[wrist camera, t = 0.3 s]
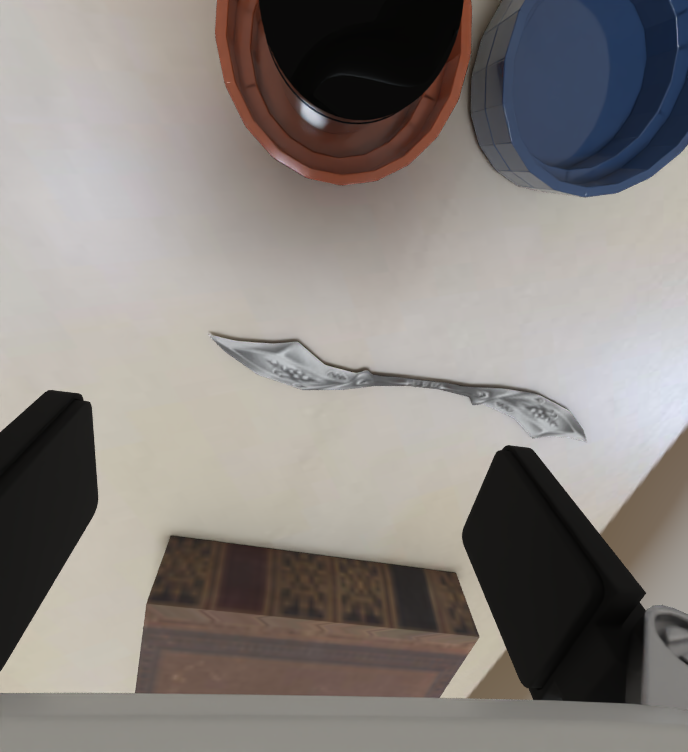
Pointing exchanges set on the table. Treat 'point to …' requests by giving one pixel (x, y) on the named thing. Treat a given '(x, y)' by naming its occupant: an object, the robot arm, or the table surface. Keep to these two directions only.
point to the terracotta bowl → (310, 145)
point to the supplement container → (357, 55)
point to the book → (299, 625)
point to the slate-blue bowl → (582, 92)
